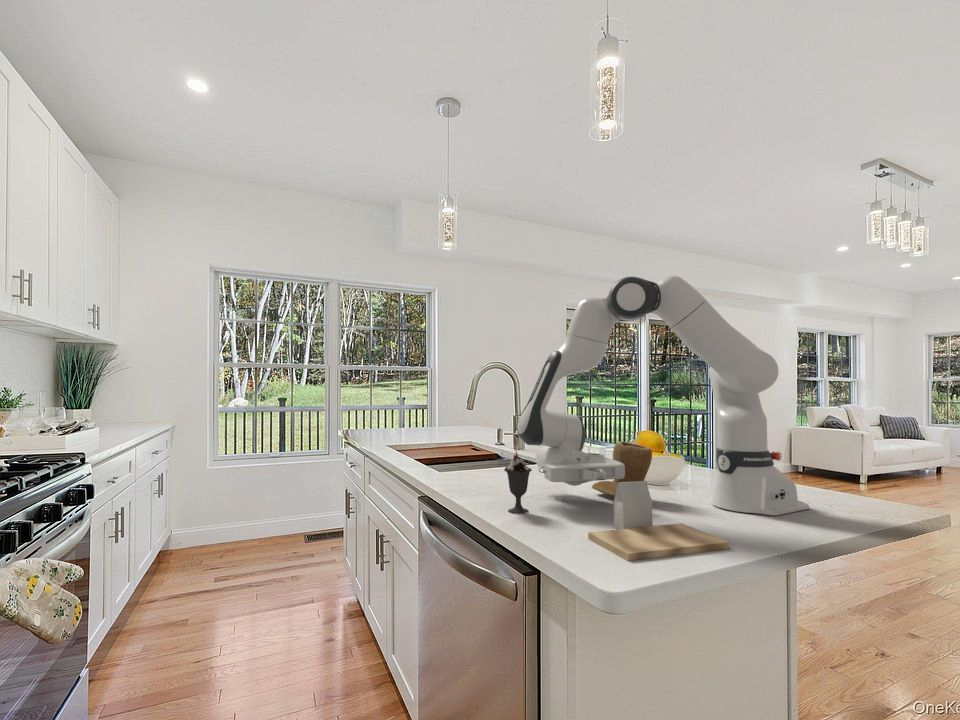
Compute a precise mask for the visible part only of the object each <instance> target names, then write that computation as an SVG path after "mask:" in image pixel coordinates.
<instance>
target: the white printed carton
mask: <svg viewBox="0 0 960 720" xmlns="http://www.w3.org/2000/svg"><path fill="white" fill-rule="evenodd" d="M649 490H650V489H649V486H648V481H647V480H644V481H638V482H620V483H618V484H617V490H616V494H615V497H613V530H615V529H616V530H618V529H628V528H638V527H648V526H653V502H652V501H653V500H652V497H651V493H650V491H649Z"/></svg>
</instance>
